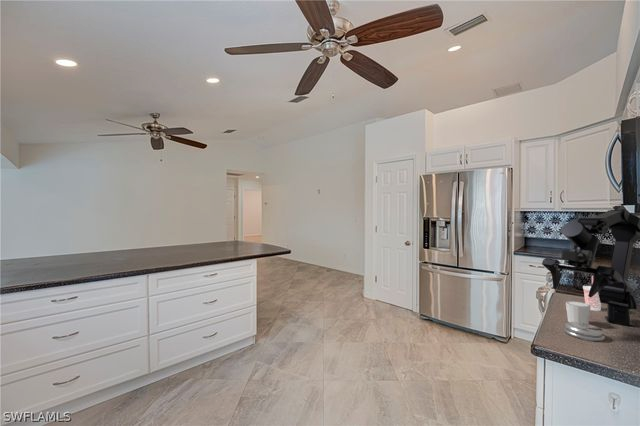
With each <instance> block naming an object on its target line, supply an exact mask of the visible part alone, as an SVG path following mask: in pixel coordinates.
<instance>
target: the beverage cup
mask: <svg viewBox="0 0 640 426" xmlns="http://www.w3.org/2000/svg"><path fill="white" fill-rule="evenodd" d="M593 281H594V275H591V284H592V283H593ZM591 286H592V285H582V289H583V294H584V303H585V304H588V305H590V306H591V308H590V311H594V312H595V311H596V312H599V311H601V309H602V308H601V307H602V303H600V299H599V294H598V292H597V293H596V294H595V295H594V296H592V297H589V291H590V288H591Z"/></svg>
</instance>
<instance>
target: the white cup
mask: <svg viewBox="0 0 640 426" xmlns="http://www.w3.org/2000/svg"><path fill="white" fill-rule="evenodd" d="M565 308H566V315H567V322H580V323H586V324H590V316H591V310H590V308H591V306H590V305H588V304H585V302H580V301H572V300H568V301H567V300H566V301H565Z"/></svg>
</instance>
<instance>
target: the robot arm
mask: <svg viewBox="0 0 640 426" xmlns="http://www.w3.org/2000/svg"><path fill="white" fill-rule="evenodd" d="M560 229H561V230H560V232H561V234H562V235H563V236H564V237H565V238H567V240H568V241H570V242H571V243H572V244H573V247H572V248H570V249H569V250H564V249H563V250H562V251H561V260H564V262H565V263H563V262H560V261H559V260H558V259H557V258H550V257H549V258H548V257H546V258H544V259H543V260H542V262H541V265H542V266H543V267H545V269H547V270H548V271H549V272H550V274H551V280H552V281H551V282H552V287H553V290H557V289H558V287H559V284H560V281H561V278H562V275H563V270H565V271H571V272H578V273H584V274H587V275H593V283H592V282H591V285H590V286H591V288H590V291H589V297H592V296H594V295H595V294H596V293H597V292H598V294H599V299H600V303H601V304H606V308H607V311H606V313H607V315H604V319H605V320H606V321H607V322H608V323H610V324H611V323H612V324H617V325H623V326H627V327H628V326H629V327H634V324H633V323H632V322H631V310H638V306H639V301H638V300H637V298H636V297H635V295H634V293H633V287H632V286H631V285H630V282H629V281H628V278H629V273H630V268H631V267H630V266H631V261H632V256H633V255H632V253H633V251H634V250H633V249H634V244H636V243H637V241H639V240H640V217H639V216H636V215H634V214H632V213H630V212H629V211H628V209H609V210H607V211H605V212H603V213H601V214H598V215H596V216H590V217H589V216H588V217H587V216H586V217H585V216H583V217H579V218H577V219H575V218H572V219H571V220H570V221H569V222H567V223H565V224H564V225H563V226H562V227H561V228H560ZM609 230H610V233H611V235H612V237H613V238H614V239H615V242H614V246H613V253H612V258H611V263H610V266H603V265H598V266H597V267H596V268H593V264H594V261H596V257H595V256H596V253H597V249H598V246H600V245H602V244H601V243H602V242H601V241H600V239H599V238H598V236H596V235H605V234H606V233H607V232H608V231H609ZM566 263H567V264H566Z"/></svg>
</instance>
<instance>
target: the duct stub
mask: <svg viewBox="0 0 640 426" xmlns="http://www.w3.org/2000/svg"><path fill="white" fill-rule="evenodd" d="M563 333H565V334H567V335H568V336H570V337H573V338H576V339H580V340H583V341H587V342H595V343H596V342H597V343H599V342H604V341H605V340H606V335H605V334H604V333H603V329H602V328H601V327H598V326H596V325H593V324H590V323H589V324H586V323H580V322H569V321H566V322H565V326H564V327H563Z"/></svg>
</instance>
